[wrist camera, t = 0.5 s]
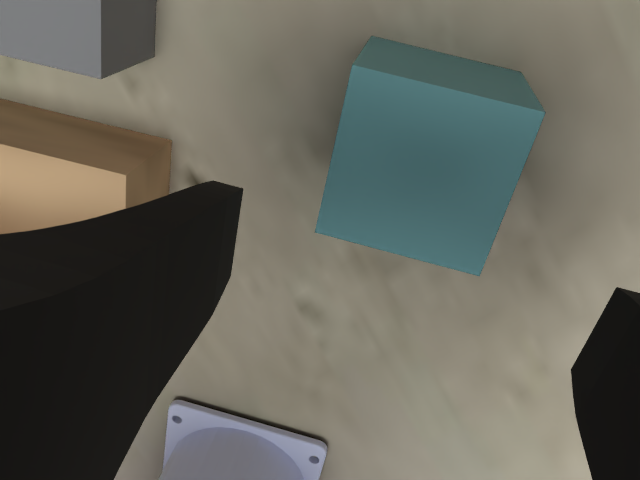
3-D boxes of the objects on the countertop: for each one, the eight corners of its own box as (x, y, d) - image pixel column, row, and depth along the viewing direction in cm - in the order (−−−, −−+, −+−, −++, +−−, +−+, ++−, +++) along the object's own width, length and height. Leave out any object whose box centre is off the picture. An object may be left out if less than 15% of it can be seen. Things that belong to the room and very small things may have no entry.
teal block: (470, 206, 21) (479, 276, 17) (339, 172, 22) (314, 232, 17) (520, 71, 19) (545, 112, 14) (371, 35, 19) (352, 64, 15)
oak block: (165, 303, 26) (123, 359, 23) (2, 260, 27) (-64, 308, 23) (174, 138, 22) (126, 175, 19) (-16, 91, 23) (-98, 119, 19)
